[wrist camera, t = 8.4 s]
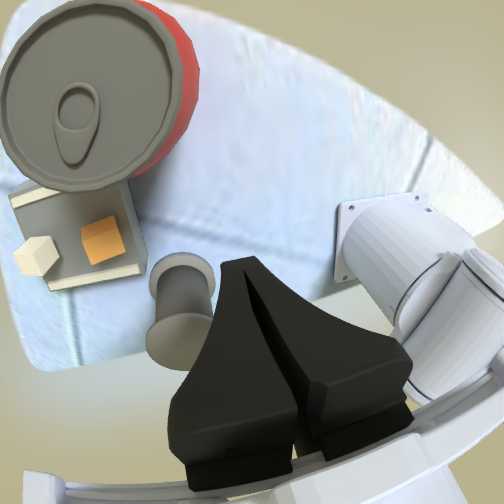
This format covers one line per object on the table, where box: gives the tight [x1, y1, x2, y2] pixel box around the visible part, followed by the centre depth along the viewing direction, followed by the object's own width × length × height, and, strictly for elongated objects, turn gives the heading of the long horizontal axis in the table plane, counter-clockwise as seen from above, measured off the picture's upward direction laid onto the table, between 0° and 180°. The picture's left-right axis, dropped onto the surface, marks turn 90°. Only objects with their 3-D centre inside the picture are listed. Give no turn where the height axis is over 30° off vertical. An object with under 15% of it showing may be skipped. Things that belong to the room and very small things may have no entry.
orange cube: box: [81, 215, 126, 265], centre depth 16 cm, size 2×2×2 cm
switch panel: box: [8, 179, 148, 292], centre depth 18 cm, size 8×8×3 cm
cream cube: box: [13, 236, 59, 276], centre depth 16 cm, size 2×2×2 cm
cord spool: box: [146, 252, 216, 371], centre depth 21 cm, size 5×5×7 cm
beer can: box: [0, 0, 200, 194], centre depth 11 cm, size 7×7×12 cm
